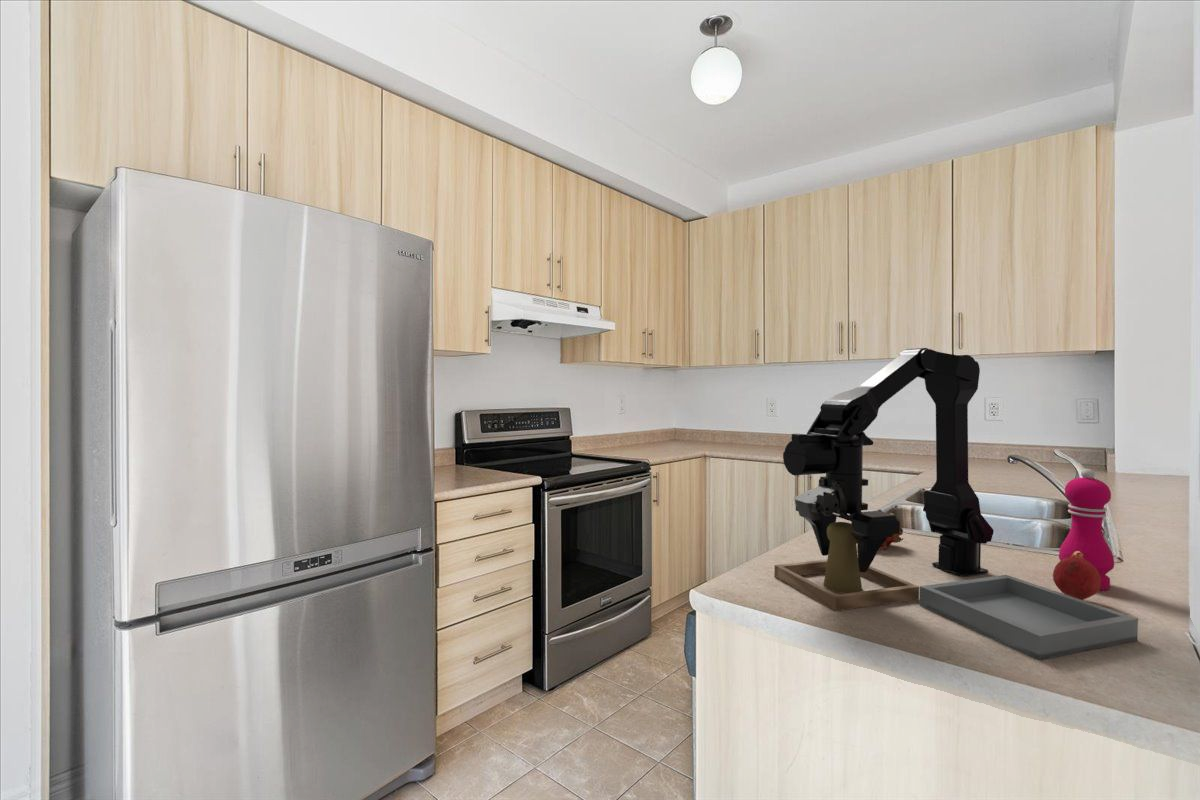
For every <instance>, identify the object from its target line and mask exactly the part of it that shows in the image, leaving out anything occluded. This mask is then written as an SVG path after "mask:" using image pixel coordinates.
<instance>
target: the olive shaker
mask: <svg viewBox="0 0 1200 800" xmlns="http://www.w3.org/2000/svg"><path fill="white" fill-rule="evenodd" d="M851 524H852V522H846V521H836V522H833V523H831V524H829V526H828V527H827V536H828V539H829V540H830V546H829V553H828V555H827V559H826V560H827V566H826V572H825V573H824V580H823V588H825V589H827V590H829V591H831V592H833V593H838V594H846V593H854V592H862V591H863V586H862V579H861V576H860V571H859V565H858V546H857V540H856V539H855V538H854V536H853V535H852V534H851V532H855V530H854V529H853V527H852V525H851Z"/></svg>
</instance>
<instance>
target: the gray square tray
mask: <svg viewBox="0 0 1200 800" xmlns="http://www.w3.org/2000/svg"><path fill="white" fill-rule="evenodd" d="M919 606H920V607H923V608H924V609H927V610H929V611H931V612H934V613H936V614H938V615H940V616H942V617H945V618H947V619H949V620H951V621H954V622H956V623H957V624H960V625H963V626H965V627H967V628H969V629H971V630H973V631H975V632H977V633H979V634H982V635H984V636H987V637H989V638H990V639H993V640H995V641H997V642H1000V643H1002V644H1003V645H1004V644H1005V645H1006V646H1009V647H1010V648H1013V649H1015V650H1017V651H1019V652H1022V653H1023V654H1026V655H1028V656H1030V657H1033V658H1034V659H1037V660H1039V661H1041V660H1045V659H1050V658H1055V657H1061V656H1065V655H1072V654H1075V653H1082V652H1086V651H1092V650H1097V649H1101V648H1106V647H1111V646H1118V645H1121V644H1127V643H1133V642H1138V631H1139V618H1138V617H1134V616H1132V615H1128V614H1125V613H1123V612H1119V611H1116V610H1115V609H1114V610H1113V609H1109V608H1107V607H1104V606H1101V605H1098V604H1095V603H1092V602H1090V601H1087V600H1085V599H1084V600H1081V599H1078V598H1075V597H1072V596H1069V595H1066V594H1064V593H1062V592H1059V591H1056V590H1053V589H1051V588H1048V587H1044V586H1042V585H1039V584H1035V583H1032V582H1029V581H1027V580H1022V579H1020V578H1017V577H1013V576H1011V575H1008V574H1002V575H993V576H988V577H980V578H979V577H977V578H970V579H965V580H957V581H950V582H941V583H934V584H927V585H920V586H919Z"/></svg>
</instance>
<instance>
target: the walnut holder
mask: <svg viewBox="0 0 1200 800" xmlns="http://www.w3.org/2000/svg"><path fill="white" fill-rule="evenodd" d="M826 566H827V559H822V560H821V559H820V560H818V559H817V560H809V561H802V562H792V563H784V564H775V565H774V577H775V578H777V579H779V580H780V581H782V582H784V583H786V584H788V585H789V586H791V587H793V588H794V589H796V590H799V591H800V592H802V593H804V594H806V596H809V597H810V598H812V599H814V600H815V601H818V602H819V603H821V604H822V605H825V606H826V607H828V608H830V609H832V610H833V611H835V612H837V611H843V610H850V609H851V610H853V609H858V608H865V607H872V606H878V605H879V606H880V605H887V604H894V603H899V602H900V603H901V602H907V601H915V600H920V586H918V585H916V584H914V583H911V582H908V581H907V580H904V579H902V578H899V577H897V576H894V575H892V574H889V573H887V572H884V571H882V570H881V569H877V568H875V567H873V566H871V565H870V566H869V568H868V570H867V571H866V572H863V573H862V572H860V577H863V578H865V579H867V580H868V581H871V582H874V583H876V584H878V585H880V586H882V587H885V588H878V589H871V590H870V589H869V590H862V591H861V592H854V593H846V594H845V593H838V594H837V593H835V592H834V591H831V590H829V589H827V588H825V587H824V586H822V585H821V586H820V585H819V584H818V583H816V582H813V581H811V580H810V579H807V578H806V577H803V576H808V575H815V574H825V572H826Z"/></svg>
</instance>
